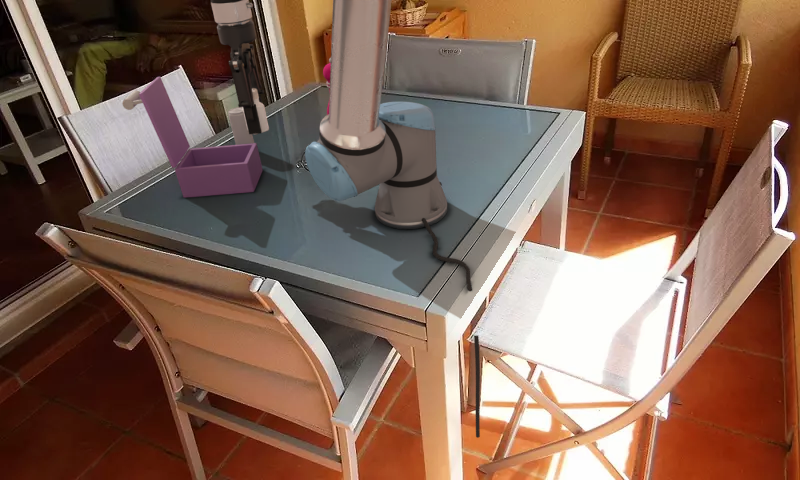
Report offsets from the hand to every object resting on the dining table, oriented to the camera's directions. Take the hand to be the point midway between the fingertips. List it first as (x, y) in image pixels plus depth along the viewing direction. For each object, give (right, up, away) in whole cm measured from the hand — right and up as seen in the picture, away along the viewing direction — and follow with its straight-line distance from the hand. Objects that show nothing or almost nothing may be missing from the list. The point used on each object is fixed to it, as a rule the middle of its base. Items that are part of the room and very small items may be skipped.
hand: (257, 128), depth 131 cm
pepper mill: (+16, +7, +35) cm, 39 cm away
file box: (-11, -12, +10) cm, 19 cm away
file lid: (-21, +2, +1) cm, 21 cm away
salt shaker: (0, -1, +1) cm, 1 cm away
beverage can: (-9, -2, +25) cm, 27 cm away
